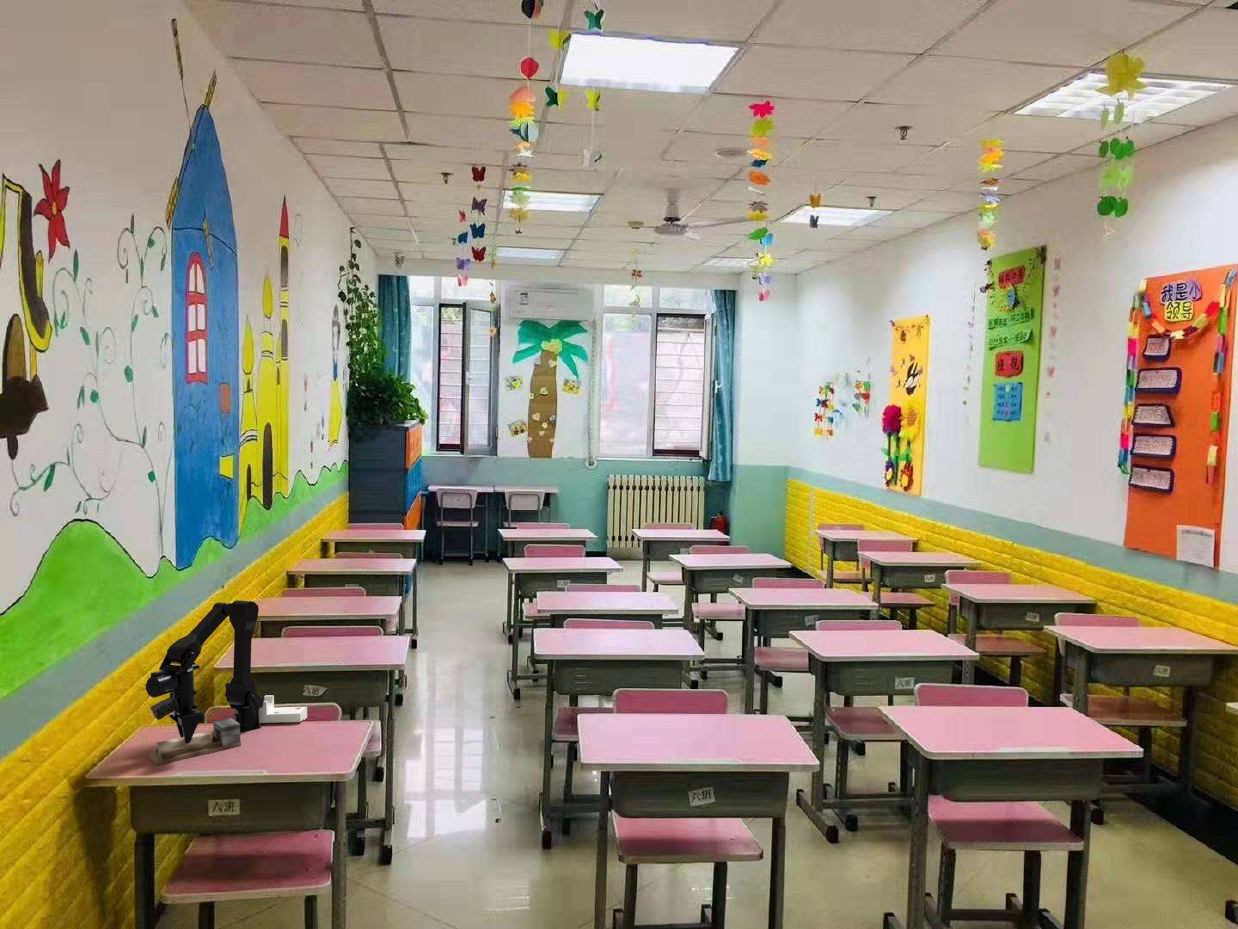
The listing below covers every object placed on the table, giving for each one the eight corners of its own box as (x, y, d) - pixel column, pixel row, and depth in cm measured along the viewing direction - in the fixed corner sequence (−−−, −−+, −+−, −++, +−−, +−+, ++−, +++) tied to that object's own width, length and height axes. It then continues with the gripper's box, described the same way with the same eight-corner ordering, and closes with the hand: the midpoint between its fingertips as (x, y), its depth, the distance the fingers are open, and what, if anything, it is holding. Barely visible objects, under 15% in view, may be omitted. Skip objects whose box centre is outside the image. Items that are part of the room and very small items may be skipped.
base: (231, 738, 280) (230, 717, 280) (241, 745, 273) (240, 724, 273) (147, 757, 265) (146, 734, 265) (156, 765, 258) (155, 742, 258)
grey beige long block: (209, 743, 273) (208, 731, 273) (212, 745, 271) (212, 733, 271) (157, 754, 264) (157, 742, 264) (160, 757, 262) (160, 745, 262)
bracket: (258, 726, 292) (257, 702, 292) (266, 718, 299) (265, 695, 299) (300, 724, 293) (299, 701, 292) (307, 717, 300) (306, 694, 299)
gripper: (144, 686, 269) (146, 739, 269) (161, 700, 254) (164, 757, 255) (185, 679, 276) (187, 731, 277) (204, 692, 262) (206, 747, 262)
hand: (185, 741), depth 267 cm, fingers open, 4 cm apart
